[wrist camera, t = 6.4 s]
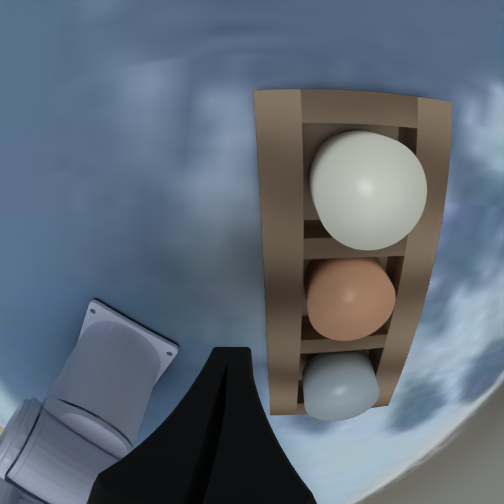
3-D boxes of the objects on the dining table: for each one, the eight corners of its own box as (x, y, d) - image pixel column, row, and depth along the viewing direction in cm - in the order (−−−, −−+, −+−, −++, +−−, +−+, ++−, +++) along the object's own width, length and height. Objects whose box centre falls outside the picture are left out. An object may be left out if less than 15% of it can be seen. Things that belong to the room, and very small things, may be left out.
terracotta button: (376, 310, 21) (386, 337, 18) (302, 314, 21) (306, 343, 19) (386, 243, 18) (402, 265, 16) (304, 245, 19) (310, 269, 16)
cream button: (399, 225, 16) (418, 248, 14) (307, 227, 17) (314, 252, 14) (406, 131, 14) (431, 140, 11) (306, 128, 14) (314, 134, 12)
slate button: (364, 389, 23) (370, 416, 20) (300, 394, 23) (302, 423, 20) (377, 344, 20) (387, 373, 18) (303, 349, 21) (306, 380, 18)
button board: (380, 379, 25) (388, 405, 23) (270, 387, 26) (270, 415, 23) (426, 99, 15) (452, 102, 12) (255, 92, 16) (253, 90, 13)
